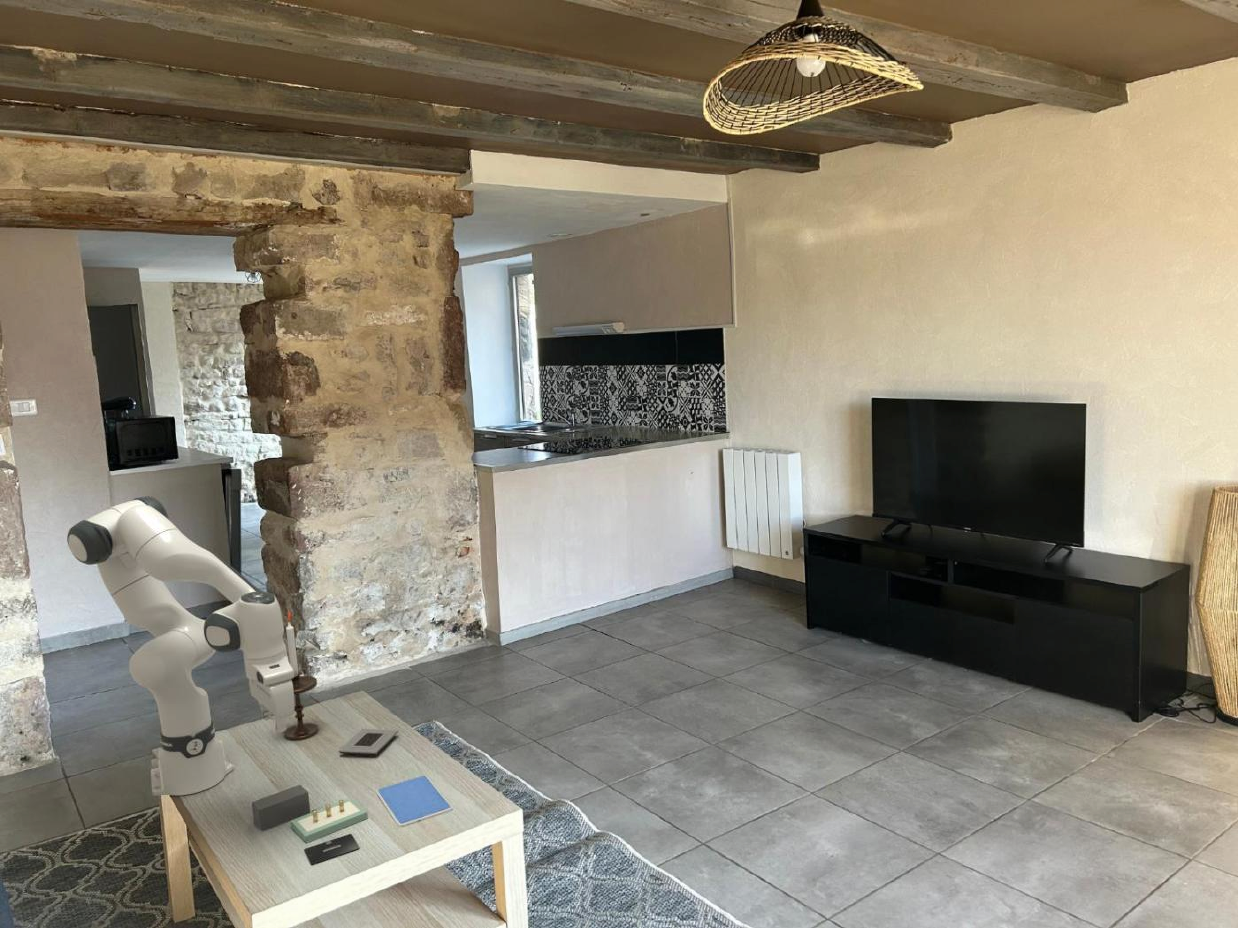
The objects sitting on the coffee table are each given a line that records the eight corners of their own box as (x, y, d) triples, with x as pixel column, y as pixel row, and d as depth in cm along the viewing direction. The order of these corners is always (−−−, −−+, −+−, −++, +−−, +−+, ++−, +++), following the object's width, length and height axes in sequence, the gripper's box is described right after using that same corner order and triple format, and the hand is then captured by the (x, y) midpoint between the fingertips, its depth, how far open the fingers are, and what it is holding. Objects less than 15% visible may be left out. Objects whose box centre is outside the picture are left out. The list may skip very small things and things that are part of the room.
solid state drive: (303, 851, 189) (303, 848, 189) (351, 836, 194) (351, 833, 194) (311, 867, 183) (311, 864, 183) (360, 850, 189) (360, 847, 188)
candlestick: (294, 724, 254) (280, 604, 249) (329, 725, 252) (316, 605, 247) (272, 741, 244) (258, 617, 239) (308, 742, 241) (295, 617, 237)
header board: (291, 826, 199) (289, 809, 198) (351, 803, 208) (349, 787, 207) (306, 842, 192) (304, 825, 191) (367, 817, 201) (366, 801, 200)
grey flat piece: (376, 760, 230) (375, 751, 230) (339, 758, 232) (338, 749, 232) (398, 737, 243) (398, 729, 242) (363, 736, 245) (362, 727, 244)
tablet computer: (454, 812, 202) (453, 806, 202) (399, 830, 196) (399, 824, 196) (426, 778, 219) (426, 773, 219) (375, 794, 213) (374, 789, 212)
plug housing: (254, 822, 202) (251, 801, 201) (302, 804, 208) (300, 784, 208) (261, 831, 198) (258, 810, 197) (310, 812, 205) (308, 791, 204)
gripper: (238, 658, 204) (246, 715, 206) (266, 680, 188) (274, 742, 190) (266, 650, 208) (273, 707, 210) (296, 672, 192) (304, 733, 194)
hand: (274, 724), depth 200 cm, fingers open, 8 cm apart
